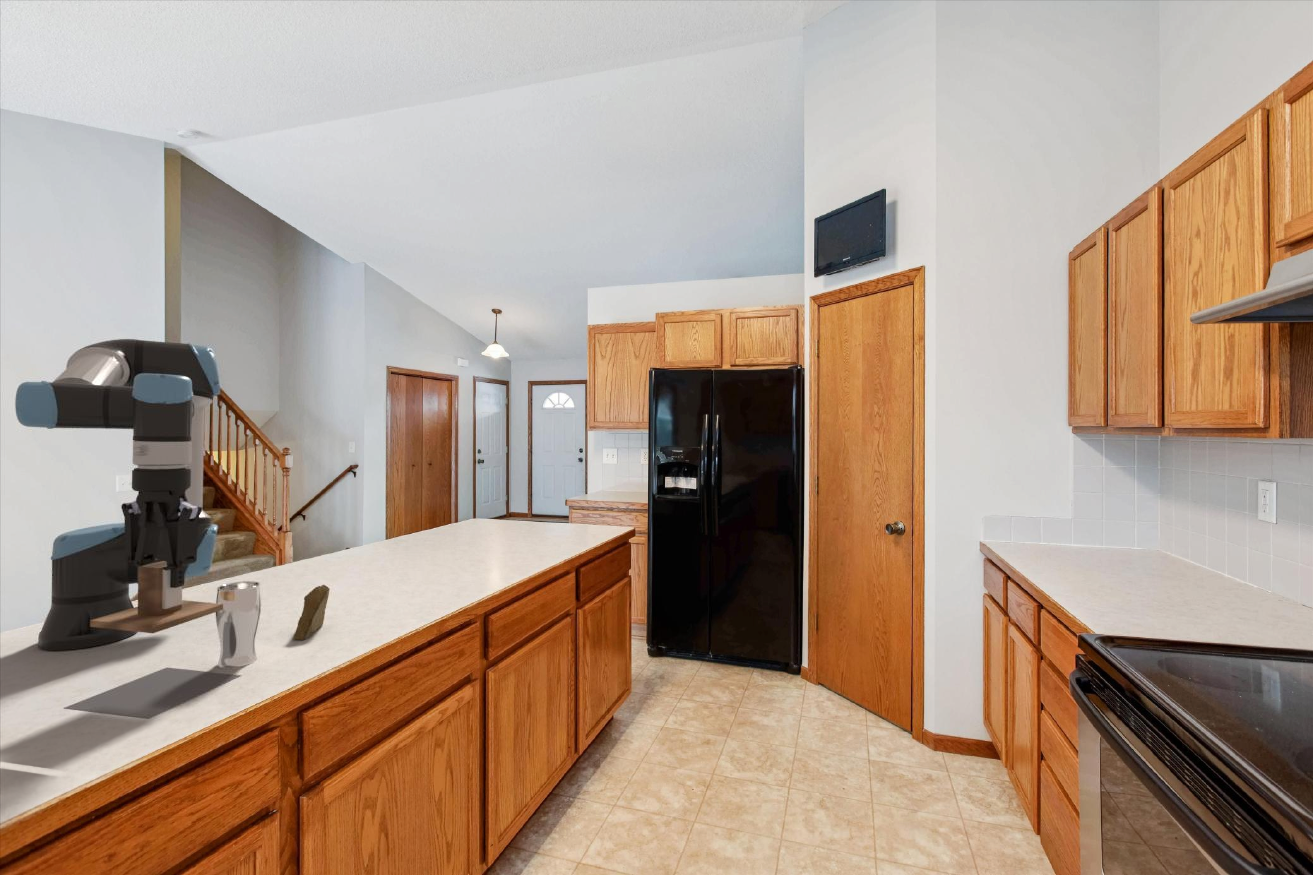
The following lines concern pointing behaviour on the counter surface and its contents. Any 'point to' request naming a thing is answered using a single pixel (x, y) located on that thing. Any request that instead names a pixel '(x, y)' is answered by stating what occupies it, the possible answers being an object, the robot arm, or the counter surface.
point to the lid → (154, 606)
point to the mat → (154, 693)
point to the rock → (312, 612)
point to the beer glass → (238, 622)
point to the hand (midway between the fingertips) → (160, 604)
